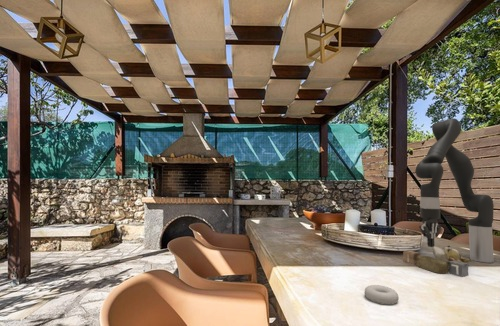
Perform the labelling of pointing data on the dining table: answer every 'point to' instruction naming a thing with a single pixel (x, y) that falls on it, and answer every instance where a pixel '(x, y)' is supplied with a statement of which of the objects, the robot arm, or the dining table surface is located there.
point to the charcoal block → (458, 268)
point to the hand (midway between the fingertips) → (430, 246)
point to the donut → (381, 294)
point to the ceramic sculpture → (448, 254)
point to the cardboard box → (410, 257)
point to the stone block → (432, 264)
